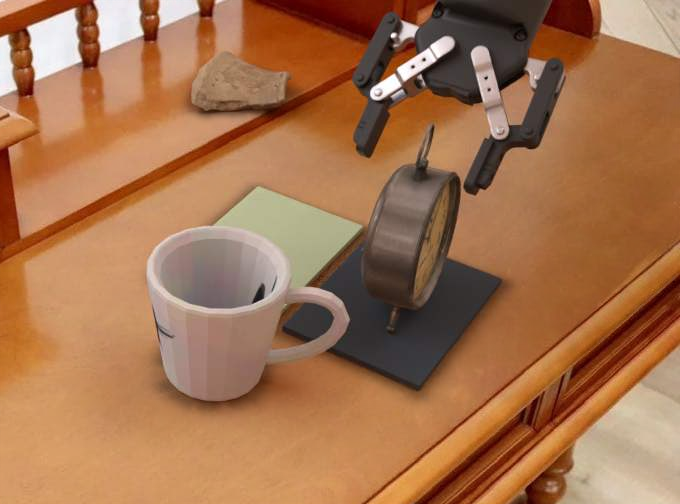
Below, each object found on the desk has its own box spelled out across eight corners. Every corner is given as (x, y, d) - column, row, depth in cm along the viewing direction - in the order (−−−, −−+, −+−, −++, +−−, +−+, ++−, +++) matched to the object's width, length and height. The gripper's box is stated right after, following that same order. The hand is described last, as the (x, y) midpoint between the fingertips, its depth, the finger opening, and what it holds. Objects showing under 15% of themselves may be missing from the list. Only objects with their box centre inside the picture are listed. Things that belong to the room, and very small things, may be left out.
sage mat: (362, 231, 98) (363, 225, 98) (270, 326, 89) (271, 320, 88) (257, 190, 103) (258, 185, 102) (159, 277, 93) (159, 271, 93)
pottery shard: (189, 123, 114) (282, 116, 111) (181, 84, 112) (276, 75, 108) (215, 80, 122) (303, 72, 119) (208, 43, 120) (297, 33, 116)
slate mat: (501, 284, 92) (502, 278, 92) (418, 391, 83) (419, 386, 82) (372, 234, 98) (373, 229, 97) (281, 331, 88) (282, 325, 88)
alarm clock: (403, 348, 86) (441, 171, 75) (339, 326, 88) (366, 150, 77) (448, 273, 93) (488, 101, 82) (387, 253, 95) (419, 83, 84)
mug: (158, 317, 89) (159, 216, 83) (342, 340, 87) (359, 238, 80) (134, 406, 82) (133, 303, 75) (335, 433, 80) (352, 330, 73)
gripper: (409, -81, 79) (314, 127, 80) (605, -34, 73) (500, 190, 74) (428, -34, 86) (341, 157, 87) (609, 12, 79) (513, 218, 80)
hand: (414, 172), depth 80 cm, fingers open, 8 cm apart
